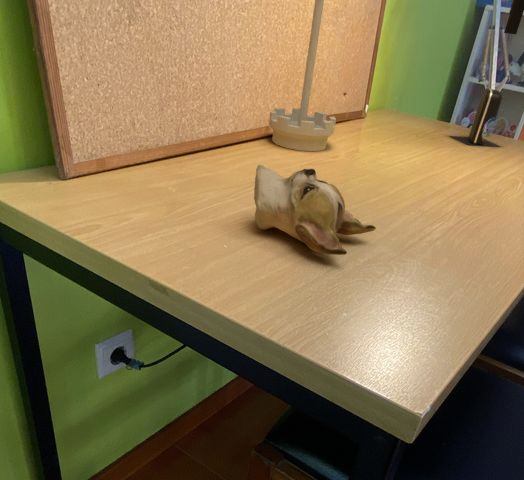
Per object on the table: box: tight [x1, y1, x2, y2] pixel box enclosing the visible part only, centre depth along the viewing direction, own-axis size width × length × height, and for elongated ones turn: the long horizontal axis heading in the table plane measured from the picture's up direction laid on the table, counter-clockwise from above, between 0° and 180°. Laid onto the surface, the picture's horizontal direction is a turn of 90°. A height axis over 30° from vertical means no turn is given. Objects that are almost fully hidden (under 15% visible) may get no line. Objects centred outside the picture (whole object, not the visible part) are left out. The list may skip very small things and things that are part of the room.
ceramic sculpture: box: [253, 164, 377, 256], centre depth 60 cm, size 11×9×15 cm
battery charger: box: [468, 88, 503, 144], centre depth 119 cm, size 7×4×11 cm, turn 166°
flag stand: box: [268, 0, 337, 152], centre depth 93 cm, size 13×13×30 cm
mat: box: [449, 135, 500, 148], centre depth 123 cm, size 8×9×1 cm
